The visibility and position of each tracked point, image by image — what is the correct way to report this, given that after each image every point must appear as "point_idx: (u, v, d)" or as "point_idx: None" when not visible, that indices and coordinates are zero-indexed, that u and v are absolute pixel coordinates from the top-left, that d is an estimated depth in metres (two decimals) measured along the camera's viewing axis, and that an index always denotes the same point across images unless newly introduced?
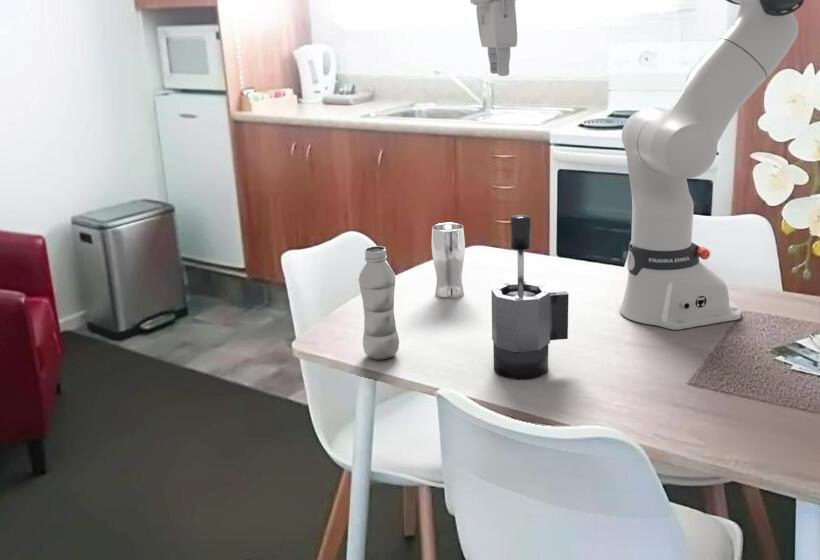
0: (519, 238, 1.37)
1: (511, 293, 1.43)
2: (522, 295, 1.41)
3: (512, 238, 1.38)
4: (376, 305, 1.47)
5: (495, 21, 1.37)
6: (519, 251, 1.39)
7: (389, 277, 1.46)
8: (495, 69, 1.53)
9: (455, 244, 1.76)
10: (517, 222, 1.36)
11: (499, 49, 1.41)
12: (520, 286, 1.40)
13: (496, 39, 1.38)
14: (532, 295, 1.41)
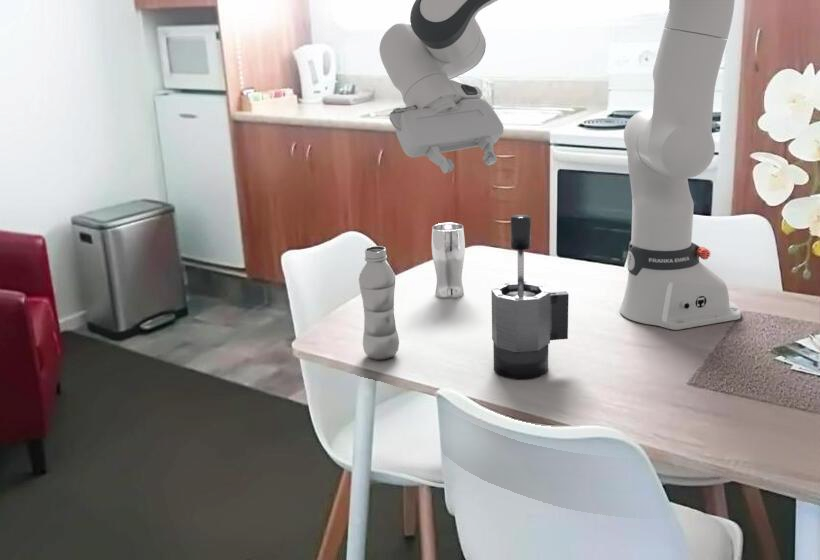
0: (519, 238, 1.37)
1: (511, 293, 1.43)
2: (522, 295, 1.41)
3: (512, 238, 1.38)
4: (376, 305, 1.47)
5: None
6: (519, 251, 1.39)
7: (389, 277, 1.46)
8: (487, 160, 1.47)
9: (455, 244, 1.76)
10: (517, 222, 1.36)
11: (427, 154, 1.43)
12: (520, 286, 1.40)
13: None
14: (532, 295, 1.41)
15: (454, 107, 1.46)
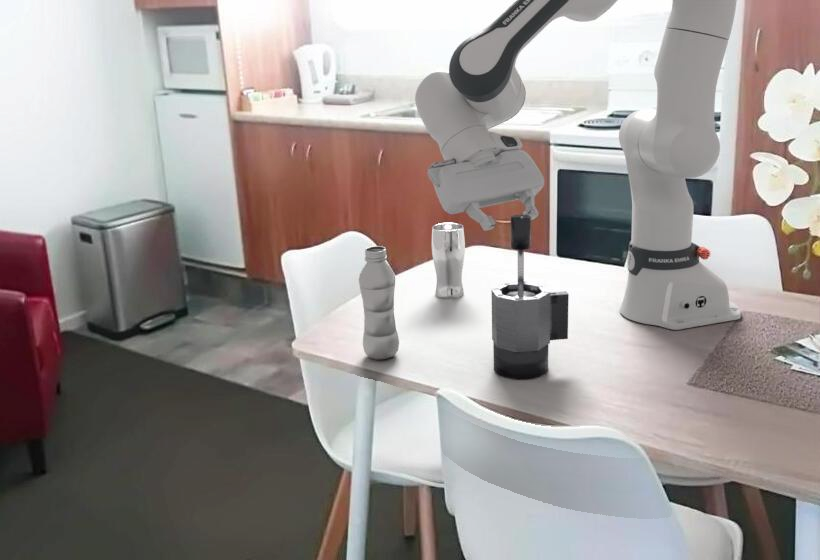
0: (519, 238, 1.37)
1: (511, 293, 1.43)
2: (522, 295, 1.41)
3: (512, 238, 1.38)
4: (376, 305, 1.47)
5: (437, 194, 1.38)
6: (519, 251, 1.39)
7: (389, 277, 1.46)
8: (528, 215, 1.42)
9: (455, 244, 1.76)
10: (517, 222, 1.36)
11: (467, 210, 1.37)
12: (520, 286, 1.40)
13: None
14: (532, 295, 1.41)
15: (494, 160, 1.41)
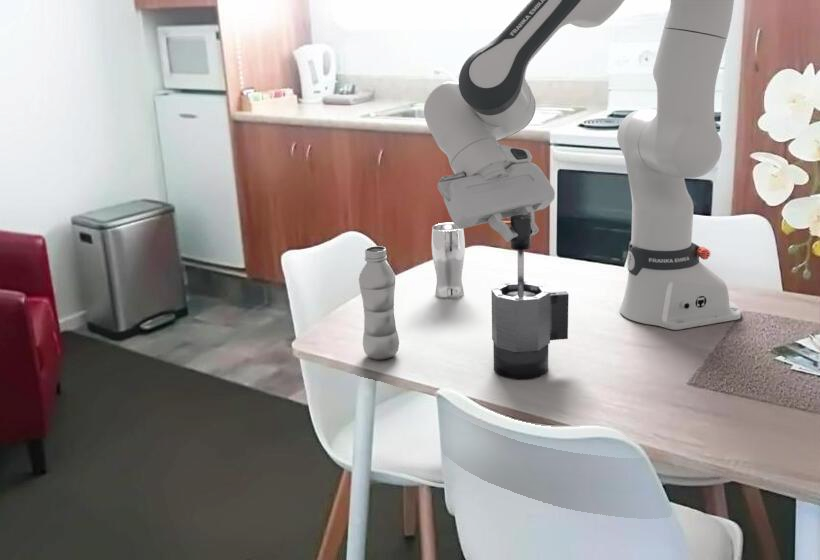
0: (519, 238, 1.37)
1: (511, 293, 1.43)
2: (522, 295, 1.41)
3: None
4: (376, 305, 1.47)
5: None
6: (519, 251, 1.39)
7: (389, 277, 1.46)
8: None
9: (455, 244, 1.76)
10: (517, 222, 1.36)
11: (489, 221, 1.37)
12: (520, 286, 1.40)
13: (454, 223, 1.35)
14: (532, 295, 1.41)
15: (504, 173, 1.40)
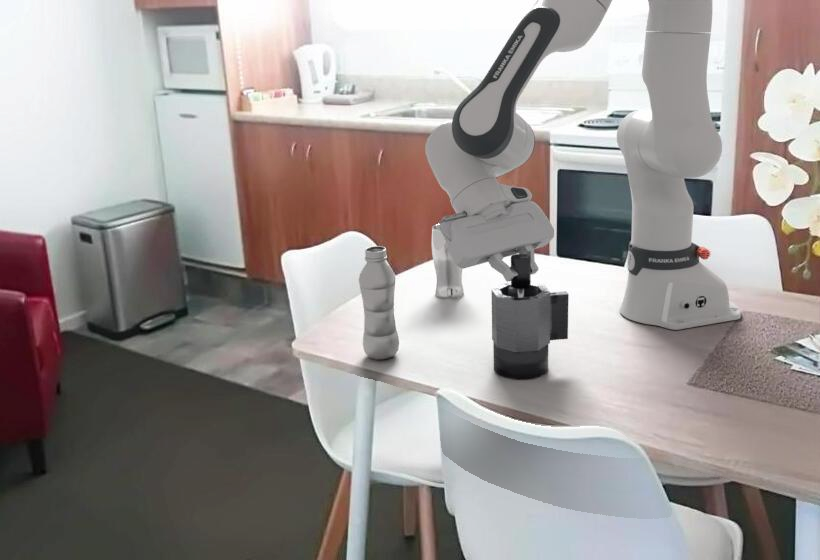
0: (519, 277, 1.39)
1: None
2: None
3: None
4: (376, 305, 1.47)
5: (448, 248, 1.39)
6: (519, 290, 1.41)
7: (389, 277, 1.46)
8: None
9: None
10: (517, 262, 1.38)
11: (489, 261, 1.39)
12: None
13: (455, 263, 1.38)
14: None
15: (505, 213, 1.42)
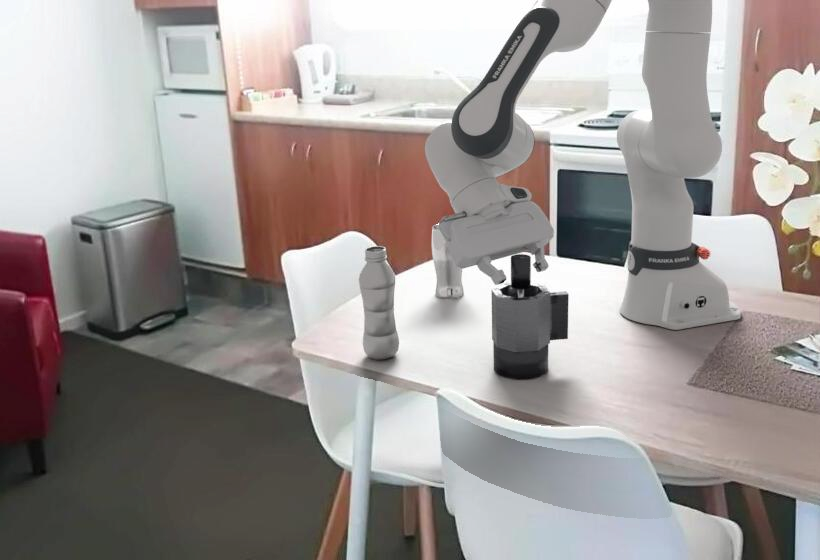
0: (519, 278, 1.39)
1: None
2: None
3: (512, 278, 1.40)
4: (376, 305, 1.47)
5: (448, 248, 1.39)
6: (519, 290, 1.41)
7: (389, 277, 1.46)
8: (538, 267, 1.42)
9: None
10: (517, 263, 1.38)
11: (478, 264, 1.38)
12: None
13: None
14: None
15: (504, 213, 1.42)
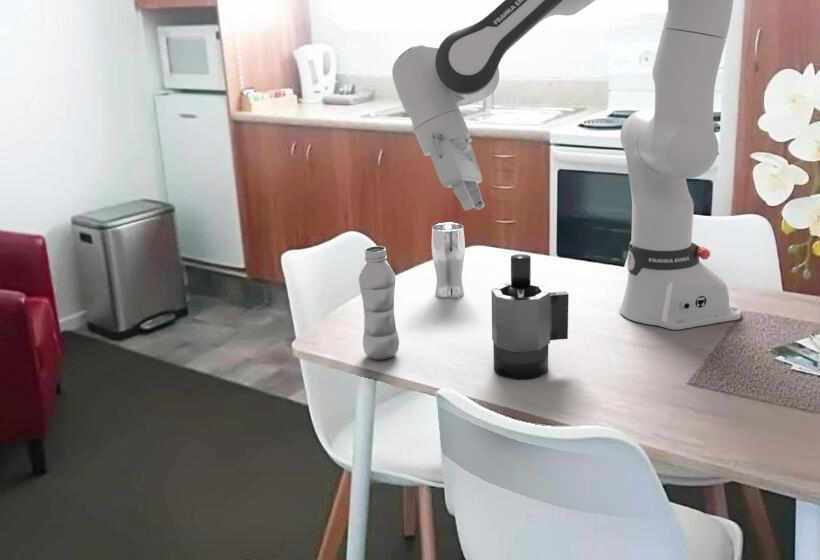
0: (519, 278, 1.39)
1: None
2: None
3: (512, 278, 1.40)
4: (376, 305, 1.47)
5: (434, 164, 1.41)
6: (519, 290, 1.41)
7: (389, 277, 1.46)
8: (477, 205, 1.53)
9: (455, 244, 1.76)
10: (517, 263, 1.38)
11: (453, 187, 1.44)
12: None
13: (440, 180, 1.41)
14: None
15: (466, 147, 1.50)
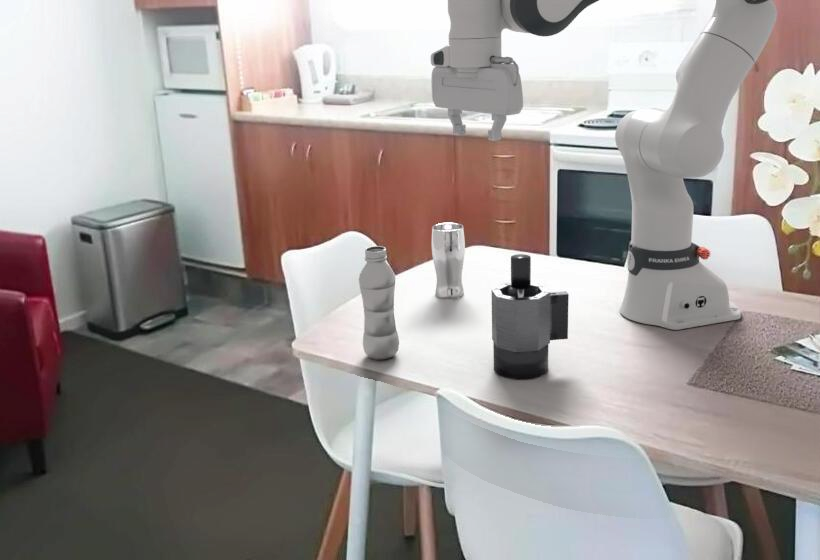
0: (519, 278, 1.39)
1: None
2: None
3: (512, 278, 1.40)
4: (376, 305, 1.47)
5: (506, 89, 1.37)
6: (519, 290, 1.41)
7: (389, 277, 1.46)
8: (461, 131, 1.51)
9: (455, 244, 1.76)
10: (517, 263, 1.38)
11: (498, 115, 1.42)
12: None
13: (507, 107, 1.38)
14: None
15: None
